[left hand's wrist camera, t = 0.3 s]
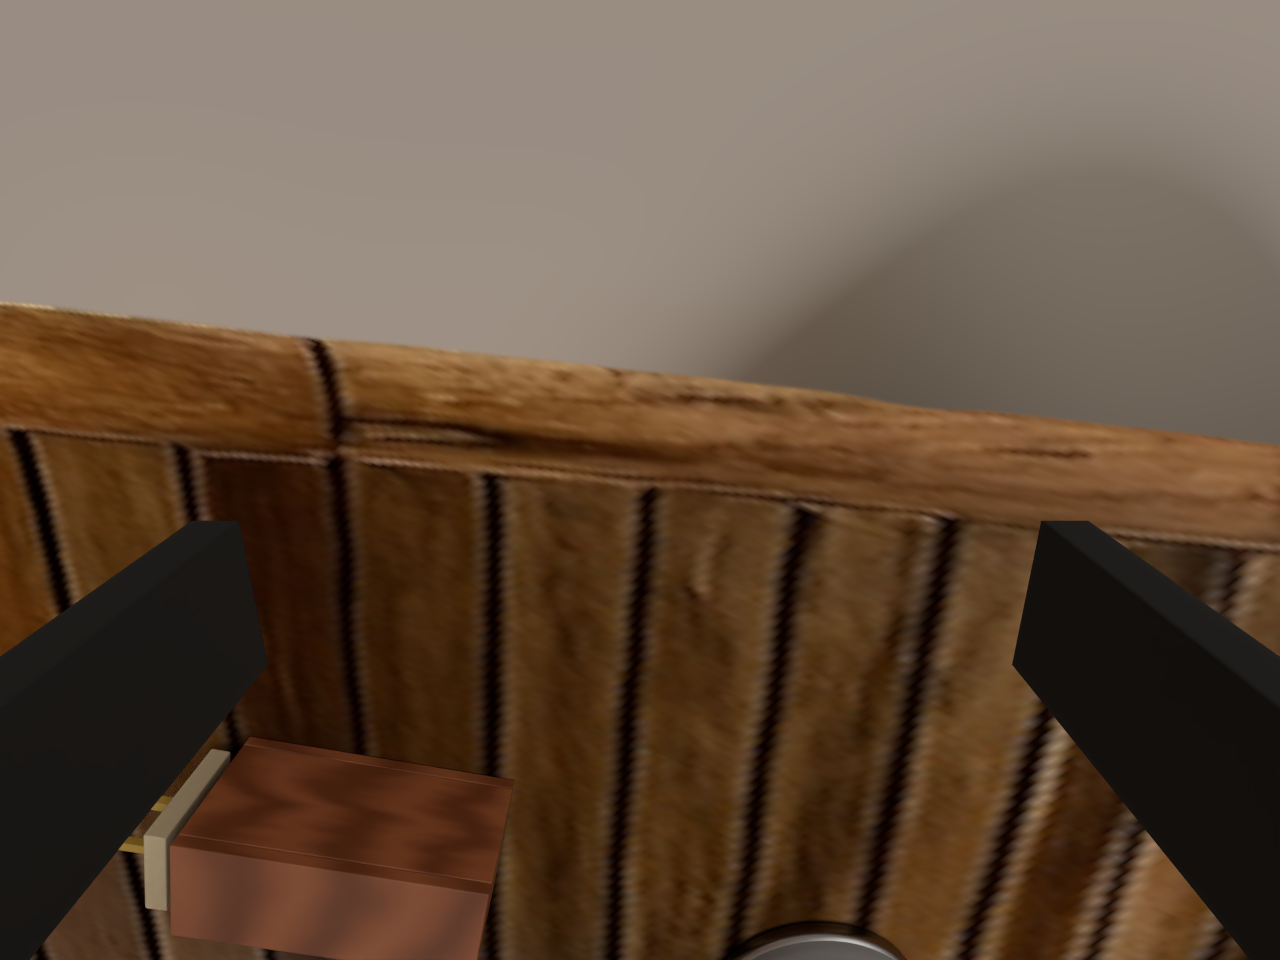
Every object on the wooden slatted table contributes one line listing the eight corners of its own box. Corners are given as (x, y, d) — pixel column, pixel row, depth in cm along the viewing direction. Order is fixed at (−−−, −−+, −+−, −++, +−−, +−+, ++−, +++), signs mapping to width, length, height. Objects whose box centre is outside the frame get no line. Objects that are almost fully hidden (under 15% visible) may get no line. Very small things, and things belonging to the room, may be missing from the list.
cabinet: (246, 816, 50) (170, 935, 42) (249, 736, 47) (169, 845, 39) (500, 856, 51) (473, 979, 43) (514, 779, 49) (489, 895, 40)
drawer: (119, 800, 48) (39, 892, 42) (116, 732, 46) (32, 818, 40) (454, 853, 50) (426, 950, 43) (464, 789, 48) (437, 881, 41)
